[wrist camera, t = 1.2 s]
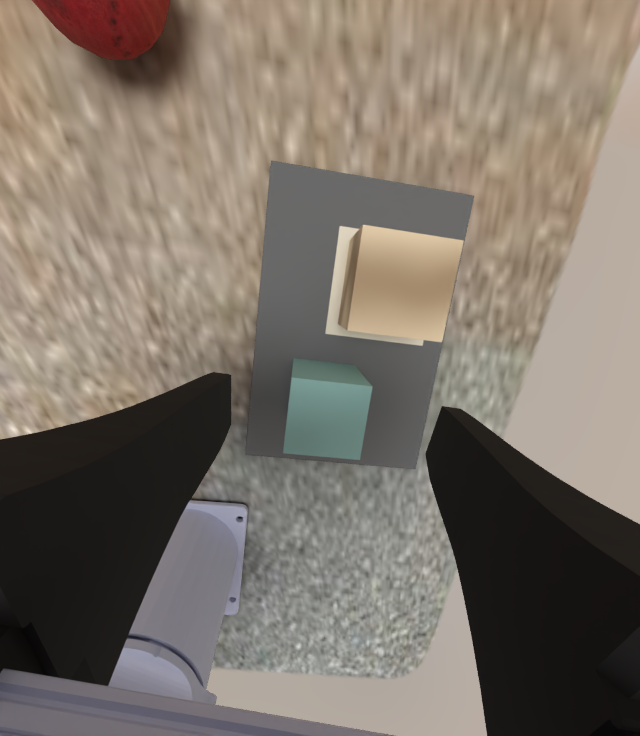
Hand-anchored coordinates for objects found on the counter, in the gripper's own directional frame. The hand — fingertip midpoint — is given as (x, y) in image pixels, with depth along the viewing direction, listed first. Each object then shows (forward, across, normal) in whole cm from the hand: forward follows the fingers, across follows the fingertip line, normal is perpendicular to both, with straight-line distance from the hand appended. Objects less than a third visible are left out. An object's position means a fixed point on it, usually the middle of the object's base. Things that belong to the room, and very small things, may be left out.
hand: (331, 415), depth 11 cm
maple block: (+11, -2, -3) cm, 11 cm away
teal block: (+9, +1, +4) cm, 10 cm away
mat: (+10, -1, 0) cm, 10 cm away
